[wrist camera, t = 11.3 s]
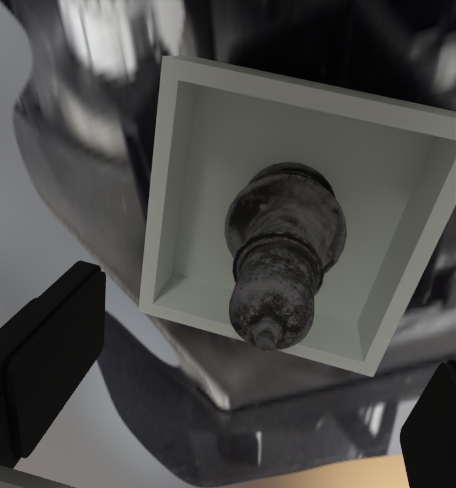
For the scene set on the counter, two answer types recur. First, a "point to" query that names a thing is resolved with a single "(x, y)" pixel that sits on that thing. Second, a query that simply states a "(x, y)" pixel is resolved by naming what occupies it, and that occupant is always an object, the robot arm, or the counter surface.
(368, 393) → the counter surface
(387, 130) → the sage bin
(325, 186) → the salt shaker
